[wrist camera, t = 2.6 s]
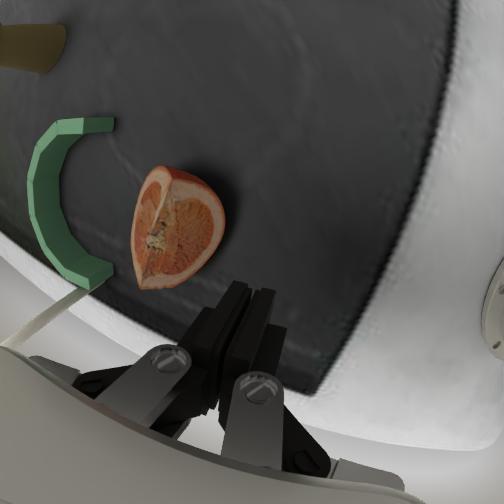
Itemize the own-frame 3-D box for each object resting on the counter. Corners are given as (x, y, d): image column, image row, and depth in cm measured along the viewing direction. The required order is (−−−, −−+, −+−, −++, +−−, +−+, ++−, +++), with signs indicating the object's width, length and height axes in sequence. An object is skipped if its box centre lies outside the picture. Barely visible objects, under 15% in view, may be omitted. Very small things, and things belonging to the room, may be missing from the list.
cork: (70, 16, 16) (-13, 3, 7) (62, 64, 19) (-29, 63, 9) (40, 35, 18) (-35, 32, 8) (33, 80, 20) (-46, 85, 10)
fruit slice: (205, 282, 23) (174, 315, 18) (139, 240, 23) (100, 262, 18) (250, 188, 19) (222, 203, 14) (170, 147, 19) (126, 151, 15)
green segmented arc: (144, 117, 19) (-102, 150, 3) (140, 297, 25) (0, 428, 9) (54, 121, 21) (-104, 156, 5) (60, 263, 28) (-59, 341, 11)
